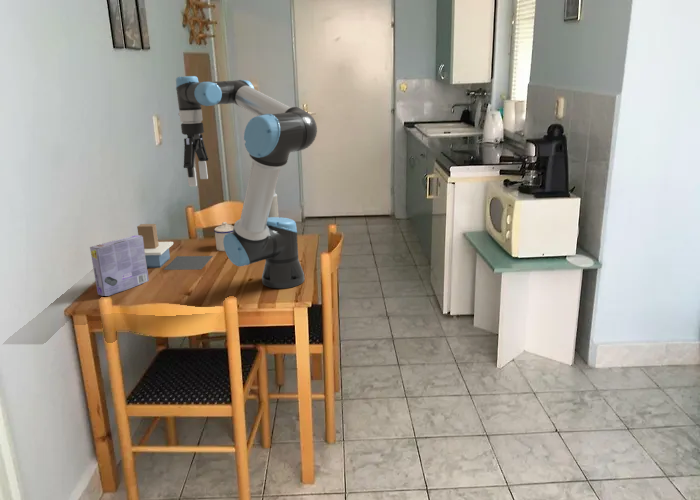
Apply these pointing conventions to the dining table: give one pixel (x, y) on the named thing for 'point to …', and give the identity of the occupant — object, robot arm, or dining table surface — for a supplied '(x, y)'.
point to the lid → (152, 240)
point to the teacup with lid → (222, 234)
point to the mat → (188, 263)
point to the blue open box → (157, 259)
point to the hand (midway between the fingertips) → (198, 182)
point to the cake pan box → (119, 265)
